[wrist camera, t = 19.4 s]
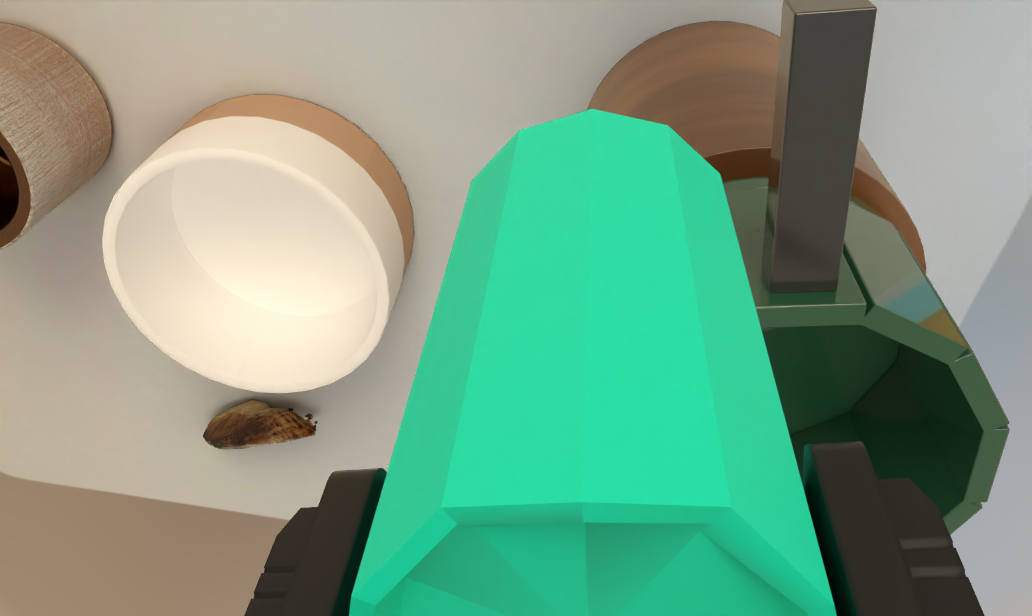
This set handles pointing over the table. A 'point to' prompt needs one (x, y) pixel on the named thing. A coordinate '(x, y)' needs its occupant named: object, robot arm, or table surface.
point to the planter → (44, 128)
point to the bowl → (262, 244)
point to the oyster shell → (256, 426)
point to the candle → (594, 403)
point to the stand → (726, 105)
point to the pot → (855, 285)
